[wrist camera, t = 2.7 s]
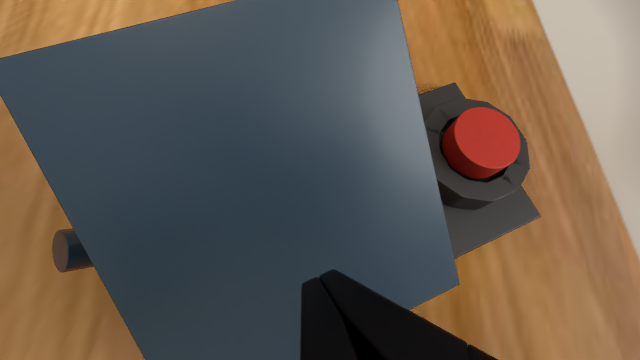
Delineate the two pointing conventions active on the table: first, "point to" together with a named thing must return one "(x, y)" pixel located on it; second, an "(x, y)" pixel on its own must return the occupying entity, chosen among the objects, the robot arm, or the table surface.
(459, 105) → the push button switch
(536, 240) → the table surface
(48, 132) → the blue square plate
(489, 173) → the red button
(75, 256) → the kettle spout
